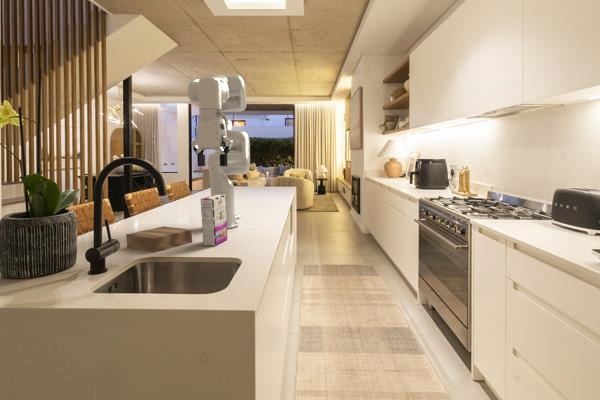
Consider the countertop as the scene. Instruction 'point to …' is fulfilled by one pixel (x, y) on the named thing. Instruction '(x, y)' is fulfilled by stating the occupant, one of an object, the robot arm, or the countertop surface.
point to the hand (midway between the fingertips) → (212, 166)
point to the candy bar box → (214, 220)
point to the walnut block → (159, 239)
